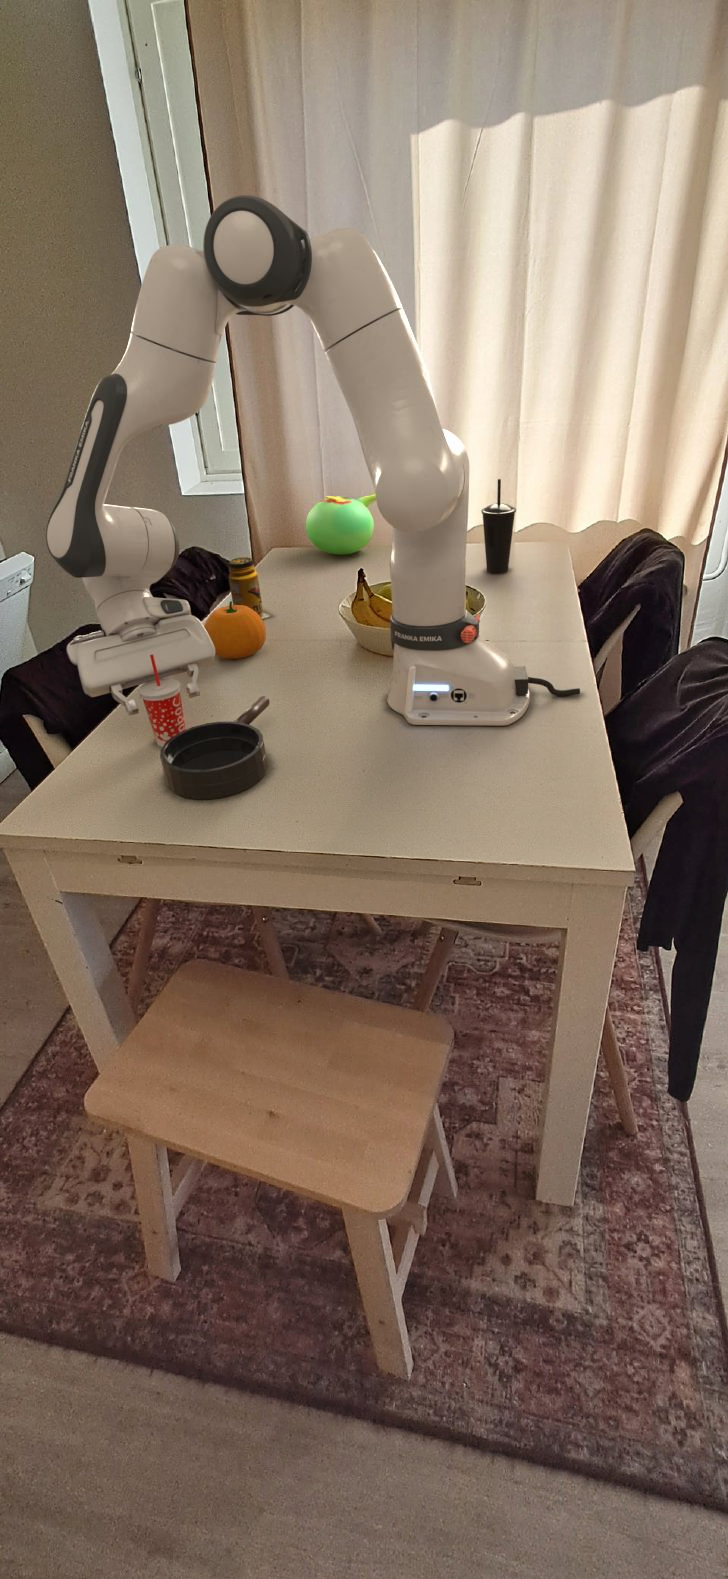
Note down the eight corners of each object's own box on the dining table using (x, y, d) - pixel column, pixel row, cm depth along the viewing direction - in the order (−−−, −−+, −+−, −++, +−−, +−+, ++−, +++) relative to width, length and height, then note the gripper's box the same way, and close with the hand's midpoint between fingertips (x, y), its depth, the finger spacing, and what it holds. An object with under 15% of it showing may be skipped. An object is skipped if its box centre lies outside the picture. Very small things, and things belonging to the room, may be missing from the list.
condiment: (270, 616, 162) (262, 560, 156) (234, 626, 159) (224, 569, 152) (255, 608, 168) (247, 553, 161) (220, 618, 164) (210, 562, 158)
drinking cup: (516, 574, 174) (519, 481, 163) (482, 576, 174) (483, 484, 164) (511, 564, 180) (514, 474, 170) (479, 567, 181) (479, 477, 170)
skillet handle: (242, 735, 112) (240, 724, 111) (231, 734, 112) (229, 723, 111) (272, 705, 119) (270, 694, 118) (262, 704, 120) (260, 693, 119)
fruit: (233, 637, 153) (225, 588, 148) (280, 645, 148) (273, 594, 142) (194, 659, 145) (184, 608, 140) (242, 668, 140) (233, 615, 134)
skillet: (284, 754, 111) (280, 726, 109) (237, 806, 100) (232, 777, 98) (200, 743, 116) (194, 717, 114) (147, 792, 105) (139, 764, 103)
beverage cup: (171, 753, 114) (150, 666, 107) (143, 744, 117) (121, 659, 110) (200, 735, 118) (181, 650, 111) (172, 727, 121) (152, 644, 114)
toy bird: (296, 556, 200) (289, 498, 192) (339, 540, 211) (334, 484, 203) (348, 565, 190) (342, 504, 182) (390, 548, 200) (387, 489, 192)
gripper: (60, 630, 109) (94, 716, 107) (197, 598, 117) (230, 677, 115) (63, 650, 115) (95, 732, 113) (193, 618, 123) (225, 694, 120)
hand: (165, 704), depth 114 cm, fingers open, 8 cm apart
